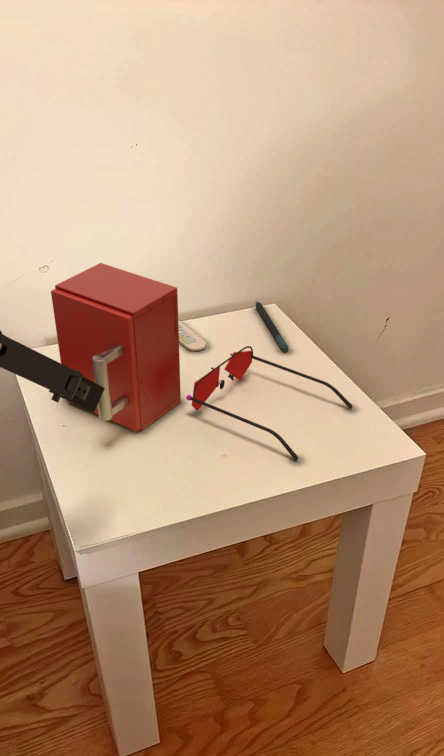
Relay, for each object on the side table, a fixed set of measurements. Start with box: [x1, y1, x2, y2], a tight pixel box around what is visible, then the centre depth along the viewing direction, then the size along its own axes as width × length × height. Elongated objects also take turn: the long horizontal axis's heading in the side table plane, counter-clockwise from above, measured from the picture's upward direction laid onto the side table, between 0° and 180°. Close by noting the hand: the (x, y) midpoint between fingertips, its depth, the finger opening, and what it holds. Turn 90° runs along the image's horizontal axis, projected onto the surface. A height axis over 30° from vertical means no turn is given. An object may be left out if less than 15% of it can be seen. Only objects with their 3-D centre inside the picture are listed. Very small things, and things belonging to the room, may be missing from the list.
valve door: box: [50, 288, 141, 432], centre depth 92 cm, size 5×12×15 cm, turn 55°
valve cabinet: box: [54, 262, 182, 432], centre depth 96 cm, size 8×12×16 cm, turn 55°
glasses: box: [185, 345, 353, 461], centre depth 98 cm, size 14×16×5 cm
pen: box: [255, 300, 289, 353], centre depth 117 cm, size 1×16×1 cm, turn 14°
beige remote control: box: [178, 319, 207, 352], centre depth 114 cm, size 10×1×3 cm
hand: (47, 378), depth 80 cm, fingers open, 13 cm apart
